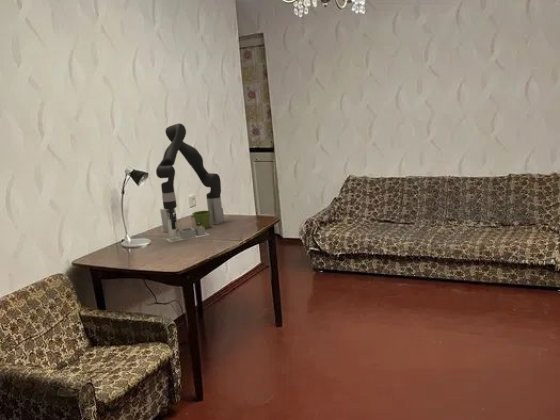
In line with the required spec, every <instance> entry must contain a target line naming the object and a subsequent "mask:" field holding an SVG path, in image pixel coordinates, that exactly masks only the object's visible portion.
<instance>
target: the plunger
mask: <svg viewBox="0 0 560 420" xmlns="http://www.w3.org/2000/svg"><path fill="white" fill-rule="evenodd" d="M202 224H203V222H198V223H196V222H195V226H196V228H197V229H201V228H202Z"/></svg>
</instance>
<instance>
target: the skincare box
mask: <svg viewBox="0 0 560 420" xmlns="http://www.w3.org/2000/svg"><path fill="white" fill-rule="evenodd" d="M166 210H167V209H164V207H162V208H160V209H159V211H160V216H161V223H162V229H163V233H164V234H165V233H169V228H168V218H167V213H166ZM174 211H175V213H176V208H174ZM177 231H179V226H178V218H177V216H176V232H177Z"/></svg>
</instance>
